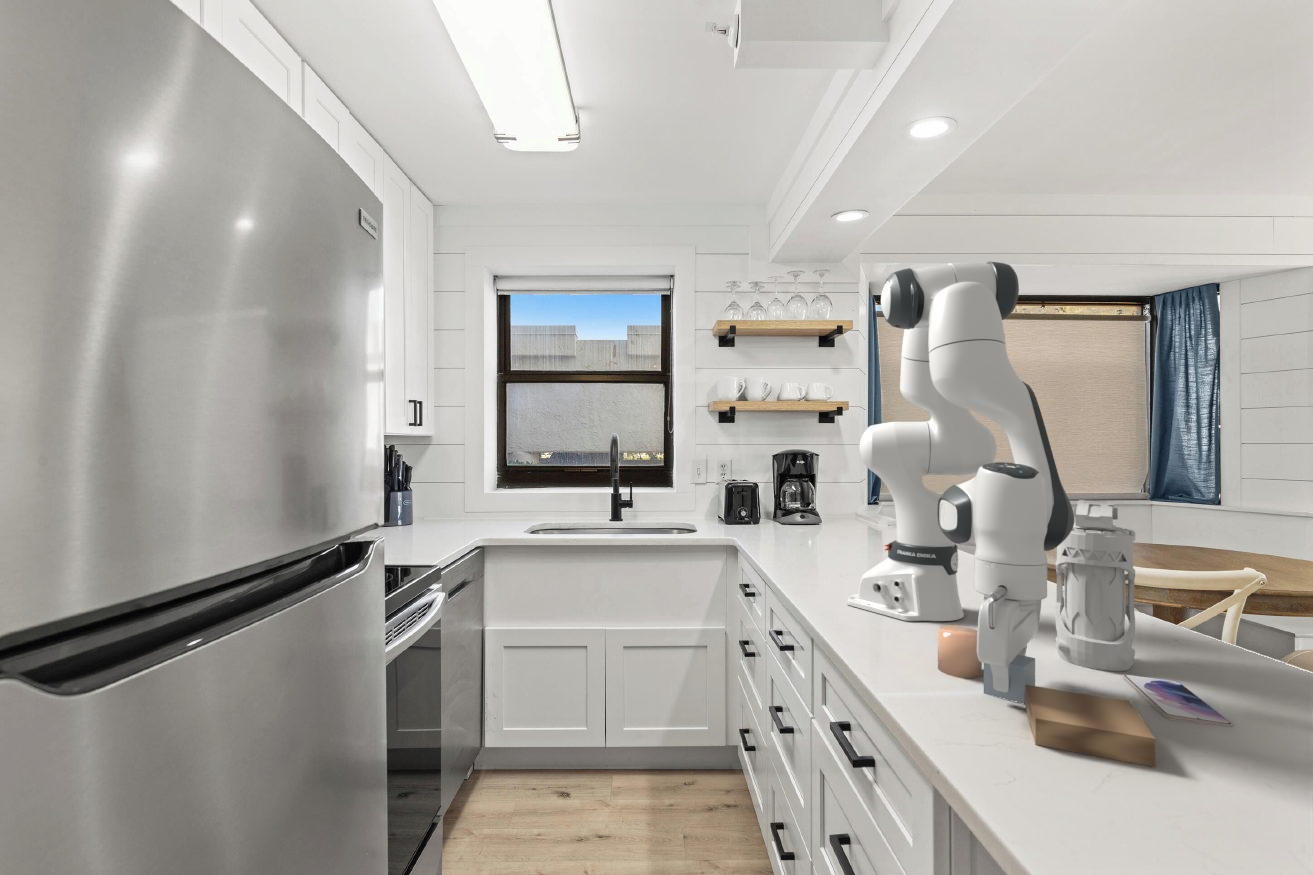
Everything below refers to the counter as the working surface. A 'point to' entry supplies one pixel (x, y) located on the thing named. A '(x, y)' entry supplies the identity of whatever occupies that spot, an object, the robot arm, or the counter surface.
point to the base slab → (1089, 725)
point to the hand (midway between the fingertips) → (1009, 680)
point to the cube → (1013, 679)
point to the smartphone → (1175, 701)
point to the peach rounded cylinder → (958, 652)
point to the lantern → (1096, 590)
